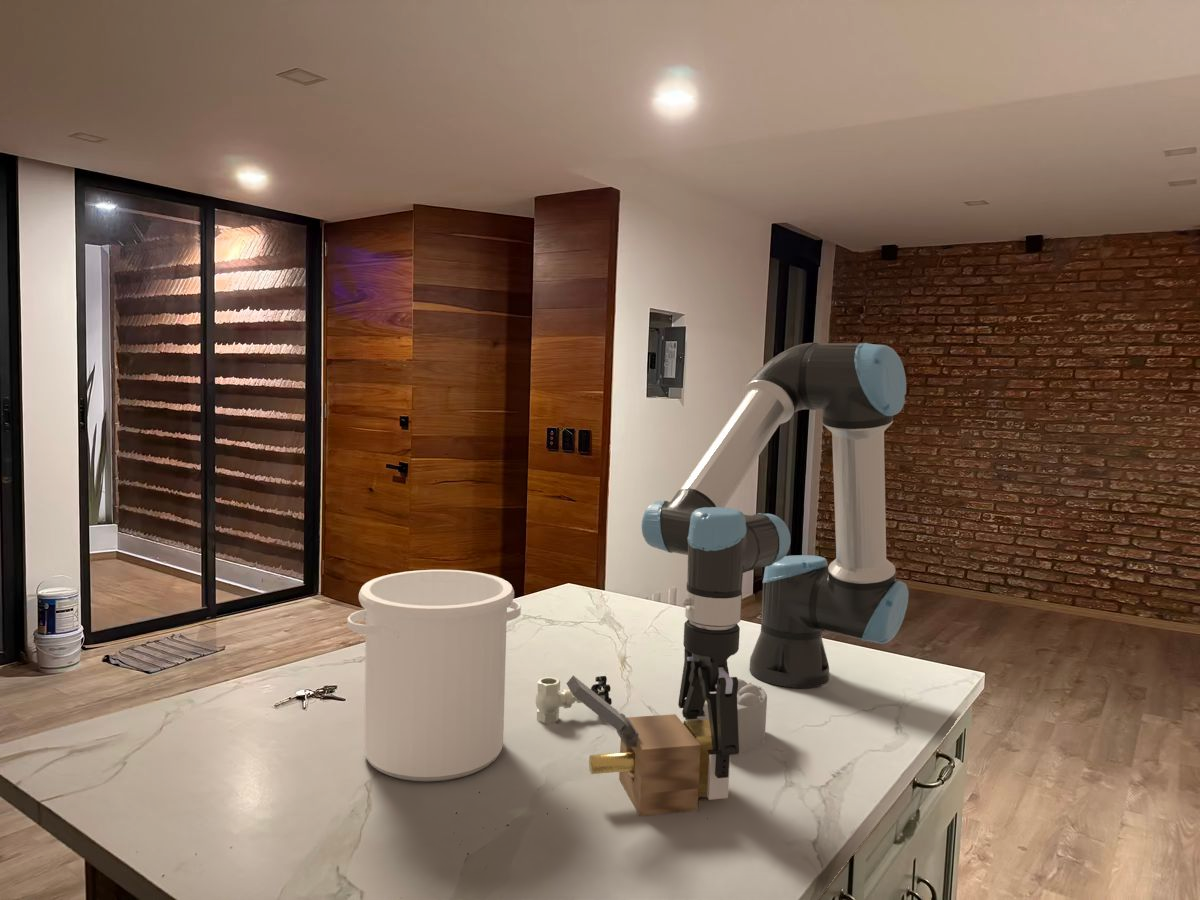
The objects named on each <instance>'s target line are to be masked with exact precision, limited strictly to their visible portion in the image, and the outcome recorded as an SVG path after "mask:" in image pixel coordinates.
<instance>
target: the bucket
mask: <svg viewBox="0 0 1200 900" xmlns="http://www.w3.org/2000/svg"><path fill="white" fill-rule="evenodd" d="M514 598H515V590H514V587H513V586H512V584H511V583H510V582H509V581H507V580H505V579H504V578H502V577H499V576H497V575H494V574H488V573H483V572H477V571H470V570H461V569H459V570H458V569H425V570H424V569H421V570H420V569H419V570H412V571H411V570H409V571H403V572H402V571H401V572H397V573H396V572H395V573H391V574H387V575H382V576H379V577H376V578H373V579H371V580H369V581H366V582H365V583H364V584H363V585H362V586H361V588H360V589H359V593H358V601H359V604H360V605H361V607H362V608H364V609H361V610H358V611H357V610H356V611H355V612H352V613H350V614H349V615H348V617H347V626H346V627H347V629H348V630H350V631H352V632H354V633H355V634H360V635H364V636H365V642H364V643H365V649H364V652H365V654H364V655H365V657H364V658H365V659H364V725H363V726H364V727H363V728H364V729H363V731H364V732H363V733H364V734H363V741H364V742H363V751H364V755H365V757H366V760H367V762H368V763H369V764H370V766H371V767H373V769H375V770H377V771H379V772H380V773H382V774H384V775H387V776H388V777H392V778H395V779H399V780H404V781H411V782H425V783H426V782H429V783H431V782H442V781H449V780H456V779H460V778H464V777H467V776H469V775H473V774H474V773H477V772H479V771H481V770H483V769H485V768H487V767H488V766H489V765H491V764H493V763H494V761H496V760H497V758H498V757H499V755H500V754H501V751H502V748H503V746H504V729H505V728H504V726H505V725H504V724H505V694H506V693H505V692H506V691H505V689H506V687H505V686H506V658H507V657H506V656H507V654H506V652H507V648H506V647H507V624H508V623H507V622H508V621H509V622H510V621H512V620H515V619H517V618H519V617H520V616H521V613H522V608H521V607H522V606H521V604H520V603H519V602H517V601H515V600H514ZM509 608H510V609H512V610H510V611H508V609H509ZM364 619H365V624H362V623H356V622H358V621H360V620H364Z"/></svg>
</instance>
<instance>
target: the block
mask: <svg viewBox="0 0 1200 900" xmlns="http://www.w3.org/2000/svg"><path fill="white" fill-rule="evenodd" d="M619 714H620V715H621V717H622V718H623V720H624V721H625V723H626V724H625V725H624V726H623V728H622V729H621V730H620V731H617V730H616V733H617V735H618V736H619V738H620V747H619V748H620V749H619V750H620V751H619V753H624V752H634V753H635V770H634V771H624V772H618V780H619V781H620V783H621V785H622V787H623V790H625V792H626V795H627V796H628V798H629V800H630V801H631V803H632V805H633V807H634V809H635V811H636V813H637V814H638V816H639V817H643V816H653V815H661V814H662V815H663V814H664V815H665V814H672V813H683V812H684V813H685V812H693V811H694V812H696V811H698V803H699V797H698V786H699V767H700V748H701V745H700V744H699V742H698V741H697V740H696V739H695V738H694V736H693V735H692V734H691V733H690V731H689V730H688V729H687V728H686V726H685V725H684V724H683V723H684V722H682V720H681V719H680V718H679V717H678V716H677V714H675V713H674V714H673V713H672V714H671V713H670V714H661V715H660V714H659V715H645V716H643V715H642V716H629V717H626V715H625V714H624V713H622V712H621V713H620V712H619Z"/></svg>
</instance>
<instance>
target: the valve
mask: <svg viewBox="0 0 1200 900" xmlns="http://www.w3.org/2000/svg"><path fill="white" fill-rule="evenodd" d="M595 682H596V683H595V684H592V686H591V687H590V689H591V690H592V691H593V692H595V693H596V694H597V695H598V696H600V697H601V698H602V699H603V700H605V701H606V702H607V703H608V704H610V705H611V706H612V703H613V700H612V698H611V697H610V695H609V693H610V692H611V685H610V684H607V682H608V678H607V676H606V675H600V676H596V677H595ZM597 682H598V683H597ZM560 690H561V680H560V679H558V678H556V677H550V676H548V677H542V678H540V679H539V680H538V682H537V693H536V697H535V706H536V708H537V710H536V721H538V722H540V723H542V724H545V725H547V724H556V723H557V722H558V721H559V719H560V708H561V707H563V708H564V709H571V707H572V706H573V704H575V702H576V704H583V703H582V702H581V701H580V700H578V699H577V698H576V697H575V696H573V694H572V693H571V691H570V689H569V688H567V689H566V688H565V689H562V691H560Z"/></svg>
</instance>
